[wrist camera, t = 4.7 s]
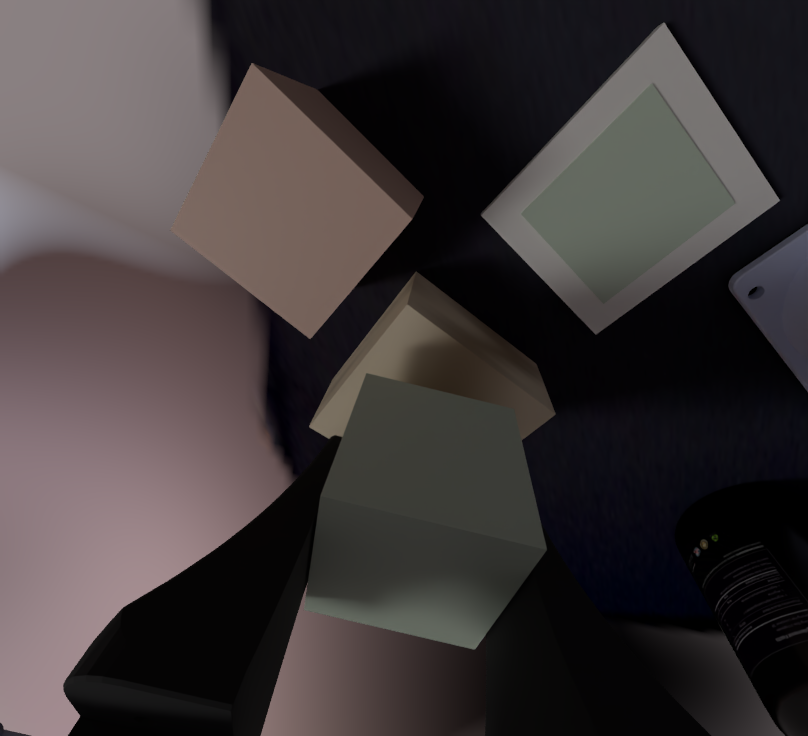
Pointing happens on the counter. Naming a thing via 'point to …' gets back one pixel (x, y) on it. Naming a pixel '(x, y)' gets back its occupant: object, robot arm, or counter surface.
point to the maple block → (437, 360)
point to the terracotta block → (294, 200)
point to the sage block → (424, 515)
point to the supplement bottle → (757, 588)
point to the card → (631, 187)
